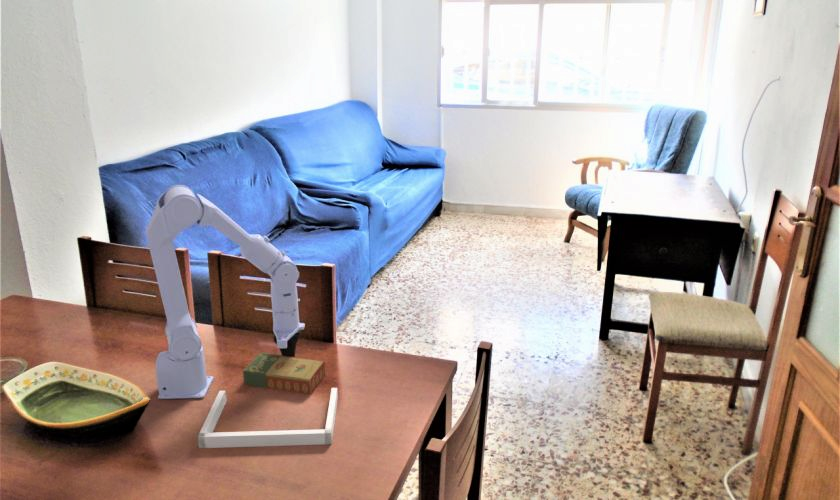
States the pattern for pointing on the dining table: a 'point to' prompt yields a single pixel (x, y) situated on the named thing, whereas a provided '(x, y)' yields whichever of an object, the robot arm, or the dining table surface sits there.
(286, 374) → the carton
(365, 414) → the dining table surface
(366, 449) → the dining table surface
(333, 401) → the bay
